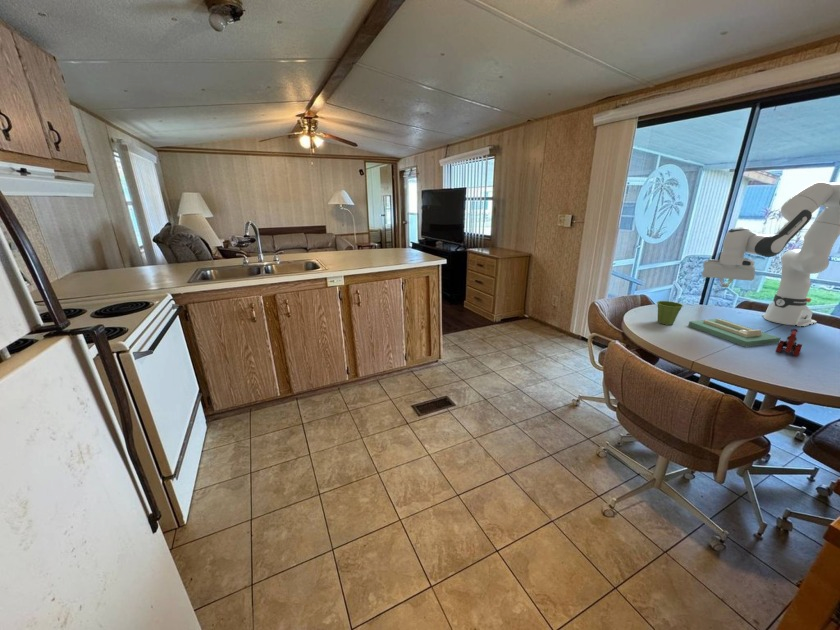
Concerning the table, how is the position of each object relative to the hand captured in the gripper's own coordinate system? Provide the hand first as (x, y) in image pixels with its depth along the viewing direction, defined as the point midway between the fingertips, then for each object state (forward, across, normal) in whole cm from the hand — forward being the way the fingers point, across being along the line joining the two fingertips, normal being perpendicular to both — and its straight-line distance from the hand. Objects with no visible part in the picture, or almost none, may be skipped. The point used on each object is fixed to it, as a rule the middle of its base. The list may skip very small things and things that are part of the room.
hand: (724, 286), depth 174 cm
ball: (+20, +11, -14) cm, 26 cm away
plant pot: (+21, -21, -13) cm, 32 cm away
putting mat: (+21, +6, -11) cm, 25 cm away
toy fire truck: (+22, +26, -23) cm, 41 cm away
